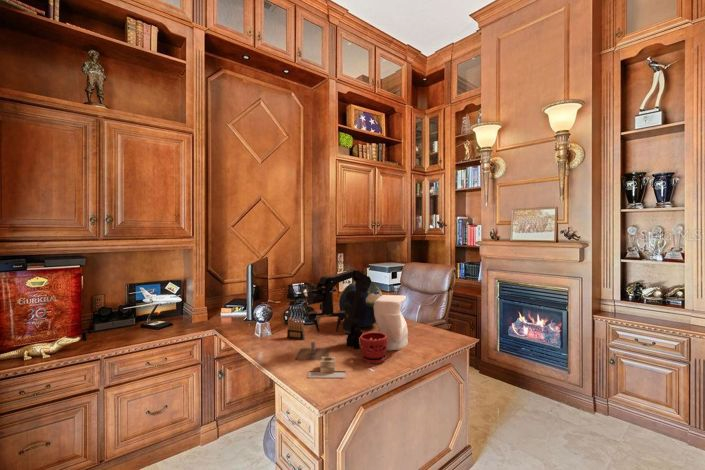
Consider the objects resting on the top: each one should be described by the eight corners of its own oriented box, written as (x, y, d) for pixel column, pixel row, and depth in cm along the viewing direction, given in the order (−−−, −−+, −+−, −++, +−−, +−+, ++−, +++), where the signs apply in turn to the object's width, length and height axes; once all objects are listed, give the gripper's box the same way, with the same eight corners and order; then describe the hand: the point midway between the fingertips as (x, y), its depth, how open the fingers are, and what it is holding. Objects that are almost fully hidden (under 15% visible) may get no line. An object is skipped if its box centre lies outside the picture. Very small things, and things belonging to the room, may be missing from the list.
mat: (346, 364, 154) (346, 364, 154) (345, 378, 140) (345, 377, 140) (312, 364, 154) (312, 363, 154) (307, 378, 140) (307, 377, 140)
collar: (335, 367, 150) (335, 356, 150) (334, 373, 144) (334, 361, 144) (321, 367, 150) (321, 356, 150) (320, 373, 144) (320, 361, 144)
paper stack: (413, 340, 188) (413, 295, 187) (400, 357, 163) (400, 305, 163) (378, 336, 196) (378, 293, 196) (361, 351, 171) (361, 302, 171)
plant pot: (383, 354, 167) (383, 330, 167) (390, 364, 154) (390, 339, 154) (357, 355, 165) (357, 332, 165) (362, 366, 152) (362, 340, 152)
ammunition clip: (287, 337, 193) (287, 317, 193) (288, 337, 195) (288, 316, 195) (303, 340, 190) (302, 319, 189) (304, 339, 191) (304, 318, 191)
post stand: (330, 350, 173) (330, 337, 173) (327, 362, 157) (327, 348, 157) (300, 350, 173) (300, 337, 173) (294, 362, 157) (294, 348, 157)
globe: (332, 323, 224) (332, 279, 224) (371, 318, 237) (371, 276, 236) (350, 335, 197) (350, 285, 196) (393, 329, 209) (393, 282, 209)
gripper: (345, 297, 174) (346, 326, 175) (310, 298, 174) (311, 327, 174) (345, 302, 163) (346, 333, 164) (307, 303, 163) (308, 334, 163)
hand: (327, 331), depth 166 cm, fingers open, 9 cm apart
